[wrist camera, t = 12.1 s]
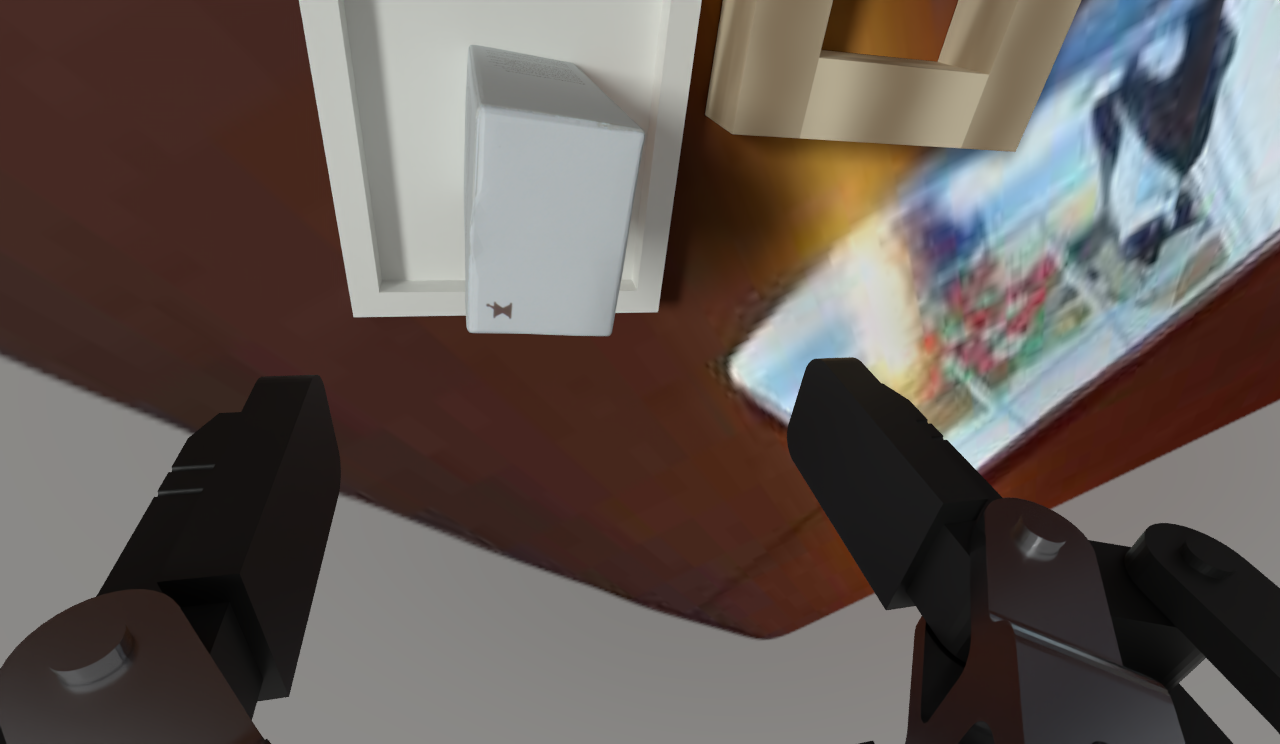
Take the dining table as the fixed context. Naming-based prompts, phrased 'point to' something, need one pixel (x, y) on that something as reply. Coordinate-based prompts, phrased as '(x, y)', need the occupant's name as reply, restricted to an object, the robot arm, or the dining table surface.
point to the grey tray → (435, 128)
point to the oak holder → (885, 76)
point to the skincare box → (544, 196)
